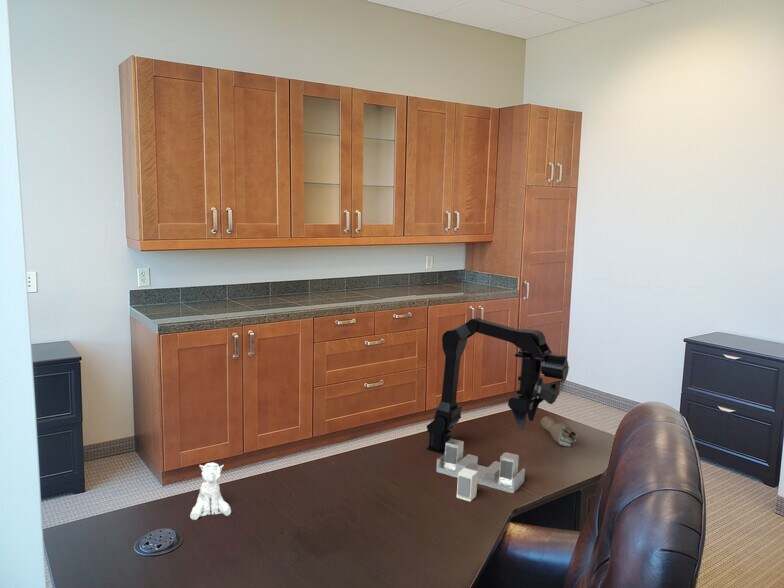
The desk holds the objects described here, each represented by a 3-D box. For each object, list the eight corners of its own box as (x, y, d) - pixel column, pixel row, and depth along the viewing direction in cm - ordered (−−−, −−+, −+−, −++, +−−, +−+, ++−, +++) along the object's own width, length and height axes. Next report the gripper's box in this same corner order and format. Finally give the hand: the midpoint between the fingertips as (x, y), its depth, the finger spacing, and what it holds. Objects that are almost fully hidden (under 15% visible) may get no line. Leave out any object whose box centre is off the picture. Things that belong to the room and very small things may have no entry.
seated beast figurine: (190, 521, 144) (190, 473, 143) (188, 504, 152) (188, 459, 151) (231, 516, 148) (231, 468, 146) (227, 500, 156) (227, 455, 154)
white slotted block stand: (436, 471, 179) (438, 444, 178) (449, 461, 187) (451, 435, 186) (513, 493, 167) (515, 463, 166) (523, 482, 175) (526, 453, 174)
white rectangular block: (455, 498, 163) (457, 473, 162) (462, 492, 167) (464, 467, 166) (469, 502, 161) (471, 477, 160) (476, 496, 165) (477, 471, 164)
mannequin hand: (556, 435, 221) (579, 456, 196) (537, 429, 221) (557, 449, 196) (563, 417, 221) (586, 435, 196) (543, 410, 221) (564, 428, 196)
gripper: (548, 385, 166) (543, 440, 168) (566, 372, 182) (561, 422, 184) (509, 378, 172) (505, 431, 174) (530, 365, 188) (526, 414, 190)
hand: (526, 424), depth 180 cm, fingers open, 9 cm apart
